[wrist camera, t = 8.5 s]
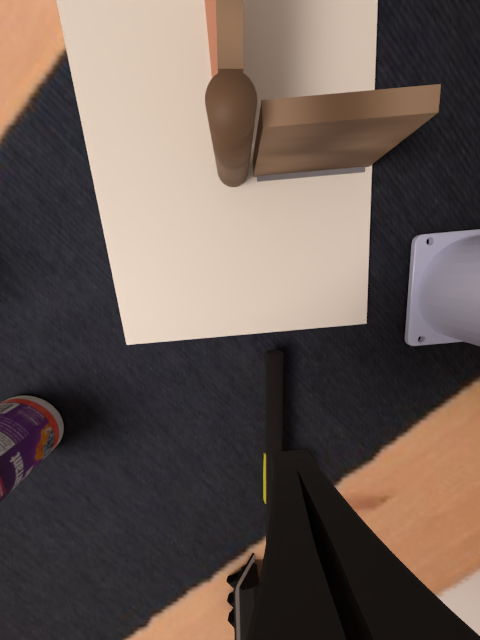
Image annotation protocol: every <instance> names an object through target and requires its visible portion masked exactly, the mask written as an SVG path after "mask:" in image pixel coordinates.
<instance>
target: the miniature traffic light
mask: <svg viewBox="0 0 480 640" xmlns="http://www.w3.org/2000/svg"><path fill="white" fill-rule="evenodd" d="M282 435H283V352H282V351H279V350H269V351H266V453H264V468H263V500H264V502H265V504H266V542H267V534H268V527H269V520H270V512H271V501H272V488H273V481H272V466H271V454H272V453H273V452H281V451H282ZM241 568H242V567H241ZM227 582H228V583H229V584H230V585H231V586H232V587H233V588H234V592H232V593H230V594H229V596H228V599H227V602H228V603H229V604H230V605H231V606H232V607H233V608H234V609H233V610H232V611H231V612H230V613H229V617H228V621H229V622H230V624H231V625H232V626H233V627H234V629H235V640H246V639H247V635H248V631H249V627H250V622H251V618H252V613H253V609H254V604H255V600H256V595H257V591H258V586H259V578H258V571H257V565H256V564H255V555H254V553H253V554H252V555H251V557H250V559H249V561H248V562H247V564H246V566H245V568H242V571H241V572H240V573H239V574H237V575H233V576H228V578H227Z"/></svg>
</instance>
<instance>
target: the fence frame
mask: <svg viewBox="0 0 480 640" xmlns="http://www.w3.org/2000/svg"><path fill="white" fill-rule="evenodd" d="M440 88H441V84H437V85H426V86H415V87H403V88H392V89H381V90H369V91H358V92H347V93H335V94H324V95H312V96H301V97H290V98H278V99H267V100H261V107H260V113H259V120H258V127H257V133H256V140H255V146H254V153H253V174H254V177H257V176H263V175H274V174H285V173H297V172H308V171H319V170H331V169H342V168H353V167H369V166H371V165H372V164H373V163H374V162H376V161H377V160H378V159H379V158H381V157H382V156H383V155H385V154H386V153H387V152H388V151H390V150H391V149H392V148H393V147H395V146H396V145H397V144H399V143H400V142H401V141H402V140H404V139H405V138H406V137H408V136H409V135H410V134H411V133H413V132H414V131H415V130H416V129H418V128H419V127H420V126H422V125H423V124H424V123H425V122H427V121H428V120H429V119H430V118H432V117H433V116H434V115H436V114H437V113H438V111H439V100H440ZM205 106H206V111H207V117H208V122H209V128H210V133H211V139H212V144H213V150H214V155H215V161H216V166H217V172H218V176H219V178H220V180H221V181H222V183H224V184H225V185H226V186H229V187H238V186H240V185H241V184H243V183H244V182H245V180H246V179H247V176H248V171H249V163H250V156H251V148H252V140H253V132H254V125H255V117H256V109H257V93H256V90H255V87H254V85H253V83H252V81H251V80H250V79H249V77H248V76H247V75H245V74H244V73H243V72H241V71H238V70H234V69H227V70H223V71H221V72H219V73H217V74H216V75H215V76H214V77H213V78H212V79H211V80H210V82H209V84H208V86H207V89H206V93H205Z"/></svg>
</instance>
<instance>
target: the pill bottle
mask: <svg viewBox="0 0 480 640" xmlns="http://www.w3.org/2000/svg"><path fill="white" fill-rule="evenodd" d="M63 432H64V425H63V420H62V418H61V416H60V414H59V412H58V411H57V410H56V409H55V407H53V406H52V405H51V404H50V403H48V402H47V401H45V400H43V399H40V398H37V397H34V396H16V397H12V398H9V399H7V400H5V401H3V402H1V403H0V502H1V501H2V500H3V499H4V498H5V497H6V496H7V495H8V494H9V493H10V492H11V491H12V490H13V489H14V488H15V487H16V486H17V485H18V484H19V483H20V482H21V481H22V480H23V479H24V478H25V477H26V476H27V475H28V474H29V473H30V472H31V471H32V470H33V469H34V468H35V467H36V466H37V465H38V464H39V463H40V462H41V461H42V460H43V459H44V458H45V457H46V456H47V455H48V454H50V453H51V452H52V450H53V449H54V448H55V447H56V446H57V445H58V444H59V442H60V441H61V439H62V436H63Z"/></svg>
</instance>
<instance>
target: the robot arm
mask: <svg viewBox="0 0 480 640" xmlns="http://www.w3.org/2000/svg"><path fill="white" fill-rule="evenodd" d="M427 239H429V244H428V245H427V243H426V241H427ZM420 336H421V338H420V340H419V341H418V338H419V337H420ZM405 342H406V343H407V344H408V345H411V346H419V345H430V344H442V343H453V342H467V343H471V344H474V345H477V346H480V229H477V230H466V231H455V232H444V233H432V234H422V235H418V236H416V237H414V239H413V240H412V245H411V259H410V273H409V286H408V300H407V314H406V328H405ZM271 466H272V481H273V488H272V501H271V512H270V520H269V527H268V534H267V542H266V548H265V554H264V560H263V565H262V571H261V576H260V581H259V586H258V591H257V595H256V600H255V604H254V609H253V613H252V618H251V622H250V627H249V631H248V635H247V639H246V640H480V636H479V635H478V634H477V633H476V632H475V631H473V630H472V629H471V628H470V627H469V626H468V625H467V624H466V623H465V622H463V621H462V620H461V619H460V618H459V617H458V616H457V615H456V614H455V613H453V612H452V611H451V610H450V609H449V608H448V607H447V606H446V605H445V604H444V603H443V602H442V601H441V600H440V599H439V598H438V597H437V596H436V595H435V594H433V593H432V592H431V591H430V590H429V589H428V588H427V587H426V586H425V585H424V584H423V583H422V582H421V581H420V580H419V579H418V578H417V577H416V576H415V575H414V574H413V573H412V572H411V571H410V570H409V569H408V568H407V567H406V566H405V565H404V564H403V563H402V562H401V561H400V560H399V559H398V558H397V557H396V556H395V555H394V554H393V553H392V552H391V551H390V550H389V549H388V547H387V546H386V545H385V544H384V543H383V542H382V541H381V540H380V539H379V538H378V537H377V536H376V535H375V533H374V532H373V531H372V530H371V529H370V528H369V527H368V526H367V525H366V524H365V522H364V521H363V520H362V519H361V518H360V517H359V516H358V514H357V513H356V512H355V511H354V510H353V509H352V507H351V506H350V505H349V504H348V503H347V501H346V500H345V499H344V498H343V497H342V495H341V494H340V493H339V492H338V491H337V489H336V488H335V487H334V486H333V484H332V483H331V482H330V481H329V479H328V478H327V477H326V475H325V474H324V473H323V471H322V470H321V469H320V467H319V466H318V465H317V463H316V462H315V460H314V459H313V458H312V456H311V455H310V453H309V452H308V451H307V450H306V449H303V450H292V451H281V452H273V453H272V454H271Z"/></svg>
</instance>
